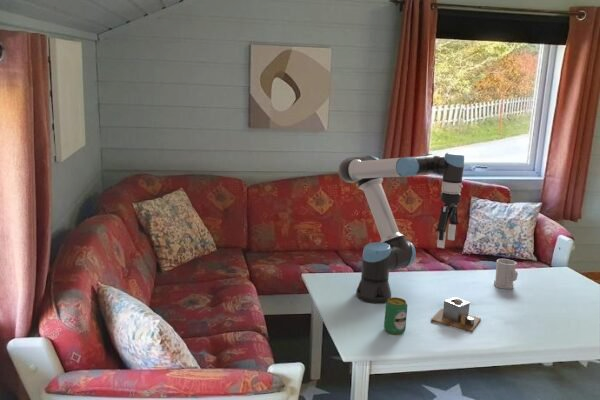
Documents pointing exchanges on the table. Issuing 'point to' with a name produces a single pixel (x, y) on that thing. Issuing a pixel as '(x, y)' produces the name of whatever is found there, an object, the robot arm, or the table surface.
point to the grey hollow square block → (457, 311)
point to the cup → (505, 273)
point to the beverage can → (395, 316)
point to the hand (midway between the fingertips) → (445, 243)
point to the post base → (441, 320)
